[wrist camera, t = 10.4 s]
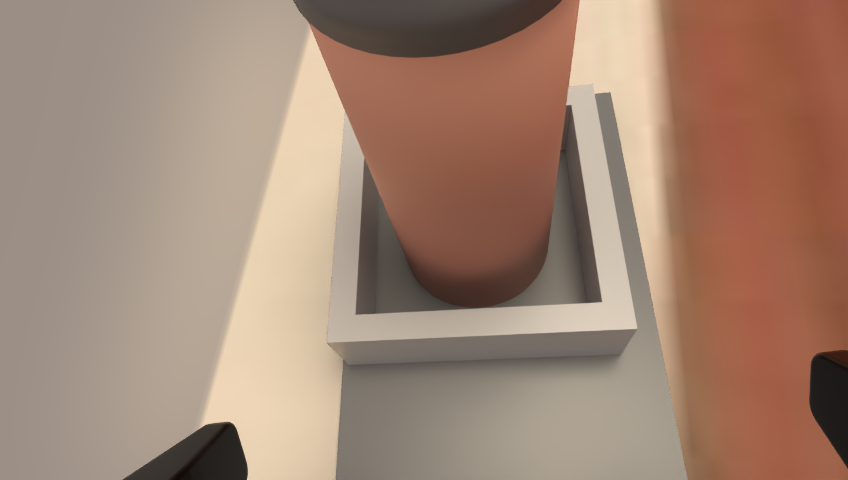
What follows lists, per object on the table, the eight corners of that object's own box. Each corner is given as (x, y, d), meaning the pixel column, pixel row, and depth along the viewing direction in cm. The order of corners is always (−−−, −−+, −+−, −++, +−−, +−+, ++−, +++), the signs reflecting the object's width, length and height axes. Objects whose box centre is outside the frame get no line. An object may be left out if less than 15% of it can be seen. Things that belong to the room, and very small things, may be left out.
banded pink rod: (559, 306, 18) (655, -146, 6) (401, 313, 19) (185, -80, 6) (544, 171, 21) (591, -358, 8) (404, 182, 21) (249, -294, 9)
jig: (711, 656, 15) (765, 690, 11) (334, 647, 16) (291, 676, 13) (606, 109, 23) (621, 43, 20) (364, 131, 24) (342, 72, 21)
